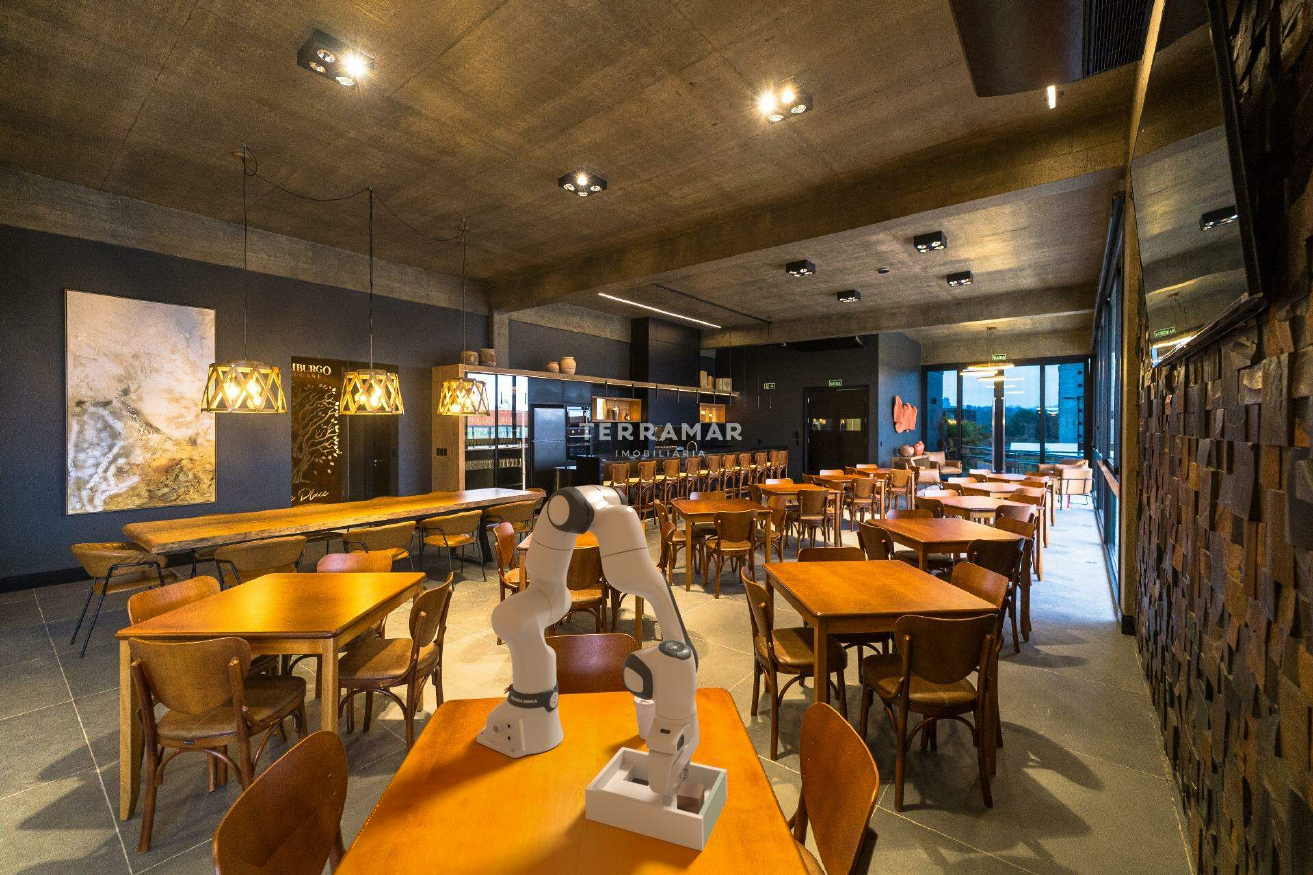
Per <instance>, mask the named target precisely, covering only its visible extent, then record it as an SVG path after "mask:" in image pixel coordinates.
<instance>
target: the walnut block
mask: <svg viewBox="0 0 1313 875" xmlns="http://www.w3.org/2000/svg"><path fill="white" fill-rule="evenodd" d="M704 803H705V802H704V785H702V784H696V783H690V782H684V781H682V784H681V786H680V788H679V791H678V793H677V809H678V810H682V811H686V812H690V813H694V814H699V812H700V811H701V809H702V807H703V805H704Z"/></svg>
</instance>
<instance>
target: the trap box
mask: <svg viewBox="0 0 1313 875" xmlns="http://www.w3.org/2000/svg"><path fill="white" fill-rule="evenodd" d="M648 754H649V751H648V752H647V751H643V750H638V749H633V748H629V747H625V746H622V747H621V748H620V749H618V751H617V752H616V753H615V754H614V756H612V758H611V759H610V760H609V761H608V762H607V764H606V765H605V766H604V767H603V768H602V769H601V770H600V771H599V772H598V774H597V775H596V776H595V777H594V778H593V779H592V781H590V782H589V784H588V785H587V786H586V788H584V795H585V796H584V797H585V798H584V802H585V806H584V807H585V819H586V820H589V821H594V822H596V823H600V824H604V825H607V826H611V827H614V828H615V827H616V828H618V829H622V830H624V831H629V832H632V833H636V834H640V835H643V836H645V837H646V836H647V837H650V838H653V839H658V840H661V841H664V842H668V843H672V844H675V845H678V846H682V847H686V848H689V849H692V850H696V851H700V852H703V851H704V849H705V847H706V844H707V842H708V840H709V838H710V835H711V833H712V831H713V829H714V827H715V825H716V823H717V820H718V818H719V816H720V815H721V812H722V811H723V807H724V806H725V803H726V802H727V799H728V770H727V769H726V768H720V767H716V766H710V765H708V764H707V765H705V764H702V763H698V762H693V761H691V762H690V767H689V776H688V777H687V779H682V778H680V777H678V778H677V780H676V781H675V783H674V785H673V786H672V789H671V793H673V802H672V804H671V805H670V806H667V805H664V804H663V796H662V794H659V793H655V792H652V791H651V789H650V787H649V780H648ZM682 781H684V782H690V783H696V784H702V785H704V802H705V803H704V805H703V807H702V809H701V811H700V812H699V814H694V813H690V812H686V811H682V810H678V809H677V793H678V791H679V788H680V786H681V784H682Z"/></svg>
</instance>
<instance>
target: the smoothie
mask: <svg viewBox="0 0 1313 875" xmlns="http://www.w3.org/2000/svg"><path fill="white" fill-rule="evenodd" d="M633 704H634V707H635V713H636V714H635V715H636V721H637V722H636V723H637V728H638V735H639V738H640V739H642V740H646V738H647V736H648V734H649V732H650V729H651V727H652V723H653V718H654V708H655V703H654V701H653V700H645V699H641V698H639V697H636V696H634V698H633Z"/></svg>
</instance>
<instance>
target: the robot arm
mask: <svg viewBox="0 0 1313 875" xmlns="http://www.w3.org/2000/svg"><path fill="white" fill-rule="evenodd" d="M587 532H588V533H590V534H592V535H593V536H594V537H595V538H596V540H597V544H598V548H599V553H600V555H599V556H600V558H601V559H600V560H601V566H602V571H603V574H604V577H605V579H606V581H607V583H608V584H609V585H610V586H611V587H613V588H614V589H615V590H617V591H619V592H620V593H623V594H627V595H632V596H635V597H640V598H642V599H643V600H645V601H647V603H649V604H650V605H651V606H650V607H651V608H652V609H653V612H654V615H655V619H656V621H657V625H658V627H659V630H660V632H661V635H662V641H661V642H660V643H657V644H654V645H652V646H647V647H644V648H640V649H638V650H635V651H632V652H630V653H628V654H627V655H626V656H625V659H624V660H623V664H622V668H621V669H622V672H621V673H622V682H623V685H624V687H625V689H626V690H627V691H628V692H629V693H630V694H631V695H633V696H634V697H635V696H636V697H639V698H641V699H645V700H653V701H654V703H655V708H654V718H653V723H652V727H651V729H650V732H649V734H648V736H647V738H646V739H645V748H646V749H647V750H648V753H649V754H648V780H649V787H650V789H651V791H652V792H655V793H659V794H662V796H663V804H664V805H667V806H670V805H671V804H672V802H673V793H671V789H672V786H673V785H674V783H675V781H676V780H677V778H678V777H680V778H682V779H687V777H688V776H689V767H690V762H692V761H691V760H692V756H693V755H694V753H695V751H696V750H697V748H698V746H699V742H700V729H699V719H698V710H697V709H698V708H697V702H696V693H697V687H698V686H697V684H698V682H697V680H698V679H697V673H698V670H699V662H700V661H699V656H698V653H697V649H696V647H695V646H694V644H693V642H692V641H691V639H690V636H689V634H688V631H687V629H686V625H685V624H684V621H683V617H682V615H681V613H680V612H681V611H680V609H679V607H678V604H677V601H676V598H675V595H674V593H673V590H672V588H671V585H670V583H669V581H668V578H667V576H666V575H665V574H664V573H663V572H662V571H660V570H659V569H658V568H657V566H656V565H655V563H654V561H653V559H652V557H651V554H650V551H649V546H648V543H647V538H646V534H645V532H644V529H643V524H642V523H641V519H640V518H639V515H638V513H637V511H636V510H635V509H634V508H633V507H631V506H629V502H628V498H627V496H626V495H625V493H624V492H623V491H622V490H621V489H619V488H617V487H615V486H613V485H612V486H611V485H599V484H598V485H596V484H588V485H587V484H586V485H580V486H566V487H563V488H559V489H557V490H556V491H554V492H553V493H552V494H551V496H549V499H548V501H546V503H545V504H544V505H543V508H542V509H541V511H540V514H539V516H538V518H537V520H536V523H535V525H534V527H533V531H532V534H531V539H530V541H529V546H528V549H527V552H526V556H525V560H524V567H525V569H526V571H527V572H528V573H529V574H530V575H529V576H530V578H529V583H528V585H527V586H526V589H524V590H521V591H518V592H517V593H514V594H512V595H510V596H508V597H506V598H505V599H504V600H502V601H501V602H500V603H498V604H497V605H496V606H495V607H494V608H493V610H492V613H491V617H490V623H491V627H492V631H493V632H494V634H495V635H496V637H498V638H499V639H500V640H501V641H503V642H505V644H506V645H507V647H508V650H509V653H510V654H509V655H510V657H511V666H512V667H511V668H512V669H511V670H512V671H511V672H512V683H510V684H509V685H508V686H507V687H506V688H505V689H503V691H504V692H503V695H506V694H507V693H508V695H507V697H506V698H505V699H504V700H502V701H501V702H500V703H499V704H498V705H496V706H495V707H494V708H493V709H492V710H490V712H489V713H488V715H487V717H486V718H487V719H486V723H485V726H484V727H483V728H482V729H480V731H479V732H478V733H477V735H476V738H475V741H476V743H478V744H480V745H483V746H485V747H486V748H487V747H488V748H490V749H492V750H494V751H496V752H499V753H501V754H503V755H505V756H508V757H511V758H512V759H517V758H521V757H524V756H526V755H534V754H538V753H543V752H546V751H549V750H551V749H553V748H555V747H557V746H558V745H559V744H561V742H563V739H564V735H565V734H564V731H563V728H562V723H561V720H560V715H559V714H560V713H559V682H558V680H557V654H556V651H555V649H554V648H552V647H551V646H550V645H548V644H547V642H546V639H545V629H546V628H547V627H549V626H551V625H553V624H555V623H557V622H559V621H560V620H561V619H562V618H563V617H564V616H565V615H567V613H568V612H569V610H570V609H571V607H572V594H571V592H570V590H569V588H568V587H567V578H568V577H567V576H568V571H569V567H570V563H571V560H572V556H573V552H574V550H575V546H576V542H577V538H578V535H585V534H587Z"/></svg>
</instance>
